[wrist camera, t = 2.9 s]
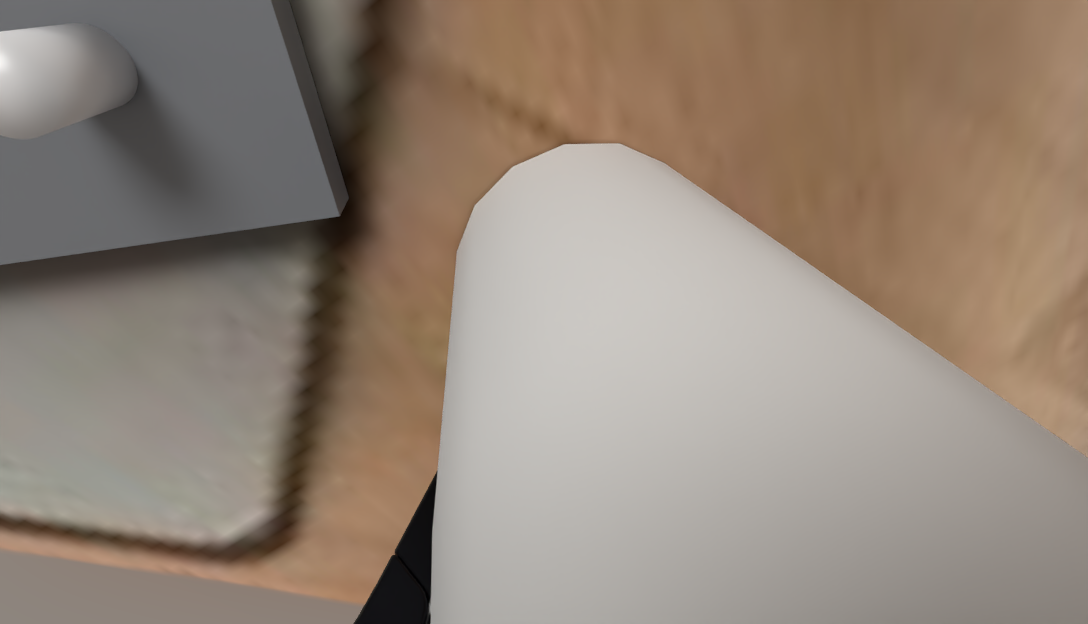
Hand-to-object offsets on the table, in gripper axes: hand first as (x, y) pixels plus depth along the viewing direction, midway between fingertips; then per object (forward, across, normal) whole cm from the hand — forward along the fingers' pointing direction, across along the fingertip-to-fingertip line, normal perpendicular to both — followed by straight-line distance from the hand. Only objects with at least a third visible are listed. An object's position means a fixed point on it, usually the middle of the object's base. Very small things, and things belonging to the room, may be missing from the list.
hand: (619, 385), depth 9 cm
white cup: (+4, 0, 0) cm, 4 cm away
